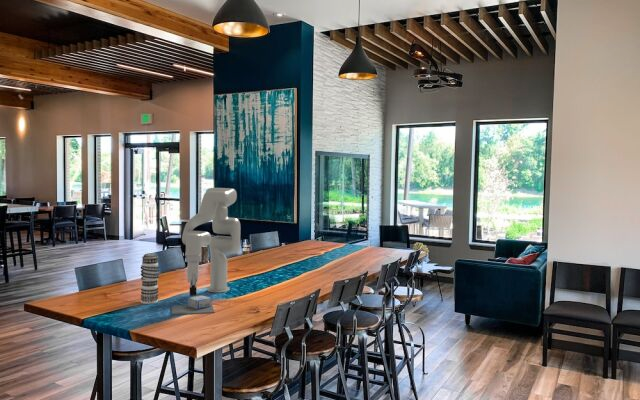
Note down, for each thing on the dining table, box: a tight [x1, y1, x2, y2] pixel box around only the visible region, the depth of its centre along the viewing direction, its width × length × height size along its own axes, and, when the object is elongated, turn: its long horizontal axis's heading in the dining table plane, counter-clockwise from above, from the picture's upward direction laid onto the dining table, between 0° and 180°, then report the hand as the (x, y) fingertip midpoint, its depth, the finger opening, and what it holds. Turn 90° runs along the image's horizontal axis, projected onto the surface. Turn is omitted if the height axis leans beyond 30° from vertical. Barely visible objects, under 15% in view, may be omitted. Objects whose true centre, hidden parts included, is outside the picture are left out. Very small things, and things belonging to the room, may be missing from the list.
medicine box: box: [187, 294, 212, 309], centre depth 241 cm, size 8×4×9 cm
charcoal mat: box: [170, 303, 215, 316], centre depth 236 cm, size 14×20×1 cm
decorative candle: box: [140, 252, 160, 305], centre depth 248 cm, size 9×9×25 cm
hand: (192, 295), depth 235 cm, fingers closed
